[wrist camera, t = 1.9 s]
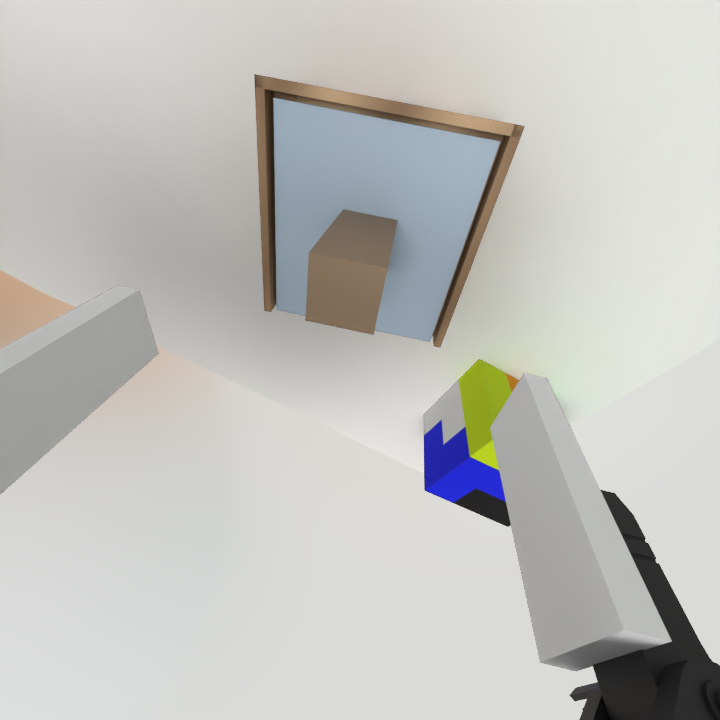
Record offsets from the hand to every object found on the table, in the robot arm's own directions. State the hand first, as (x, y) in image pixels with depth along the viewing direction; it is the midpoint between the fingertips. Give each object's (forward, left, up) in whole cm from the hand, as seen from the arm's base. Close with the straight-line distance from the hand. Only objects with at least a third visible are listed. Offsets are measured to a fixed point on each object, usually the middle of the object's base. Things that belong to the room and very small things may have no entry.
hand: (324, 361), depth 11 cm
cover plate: (0, 0, -14) cm, 14 cm away
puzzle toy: (+16, -17, -19) cm, 30 cm away
